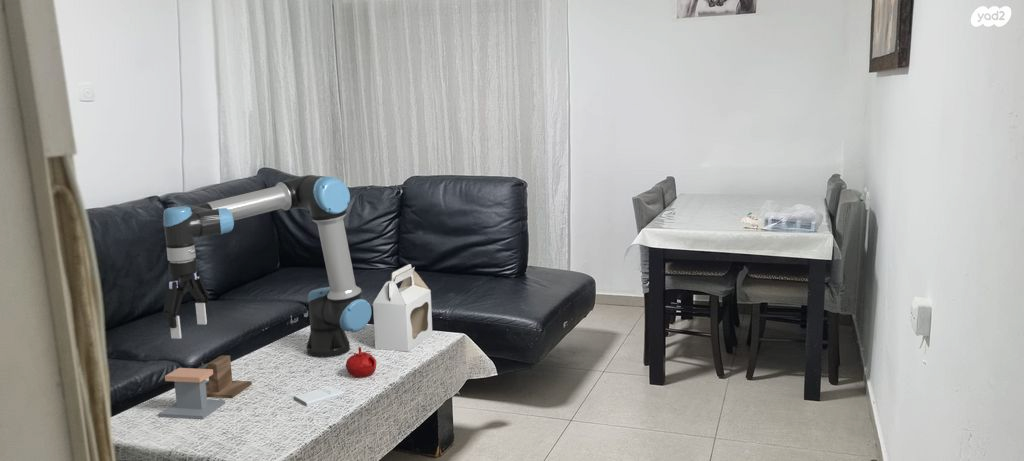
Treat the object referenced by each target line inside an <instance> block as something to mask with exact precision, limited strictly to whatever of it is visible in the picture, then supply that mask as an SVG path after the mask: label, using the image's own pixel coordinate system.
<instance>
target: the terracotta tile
mask: <svg viewBox="0 0 1024 461" xmlns="http://www.w3.org/2000/svg"><path fill="white" fill-rule="evenodd" d="M211 375H213V369H208V368H192V367H191V368H190V367H178V368H176V369H174V370H173V371H170V372H169V373H168V374H166V375H164V381H165V382H174V381H177V382H197V383H200V382H202V381H203V380H205V381H206V379H209V377H210V376H211Z"/></svg>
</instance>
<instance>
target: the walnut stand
mask: <svg viewBox="0 0 1024 461" xmlns="http://www.w3.org/2000/svg"><path fill="white" fill-rule="evenodd" d="M231 361H232V360H231V355H222V354H221V355H219V356H217V357H216V358H215V359H213V360H211V361H210V362H208V363H207V369H213V375H211V376H210V377H208V381H207V382H205V383H206V394H207V398H219V399H220V398H221V399H233V398H235V397H236V396H238V395H240V394H241V393H242V392H244V391H245V390H246V389H247V388H249V387H250V386H252V384H253V383H252V381H251V380H250V381H249V380H233V374H232V373H233V372H232V362H231Z"/></svg>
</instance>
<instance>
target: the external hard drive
mask: <svg viewBox="0 0 1024 461" xmlns="http://www.w3.org/2000/svg"><path fill="white" fill-rule="evenodd" d="M344 393H345V392H344V391H342V390H340V389H338V388H336V387H334V386H333V385H329V386H328V385H327V386H325V387H322V388H318V389H315V390H312V391H311V390H310V391H307V392H304V393H299V394H296V395H293V401H294V400H295V401H296V402H298V403H300V404H302V405H304V406H305V407H310V406H314V405H316V404H320V403H324V402H326V401H327V402H328V401H329V400H333V399H336V398H340V397H342V396H344Z"/></svg>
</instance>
